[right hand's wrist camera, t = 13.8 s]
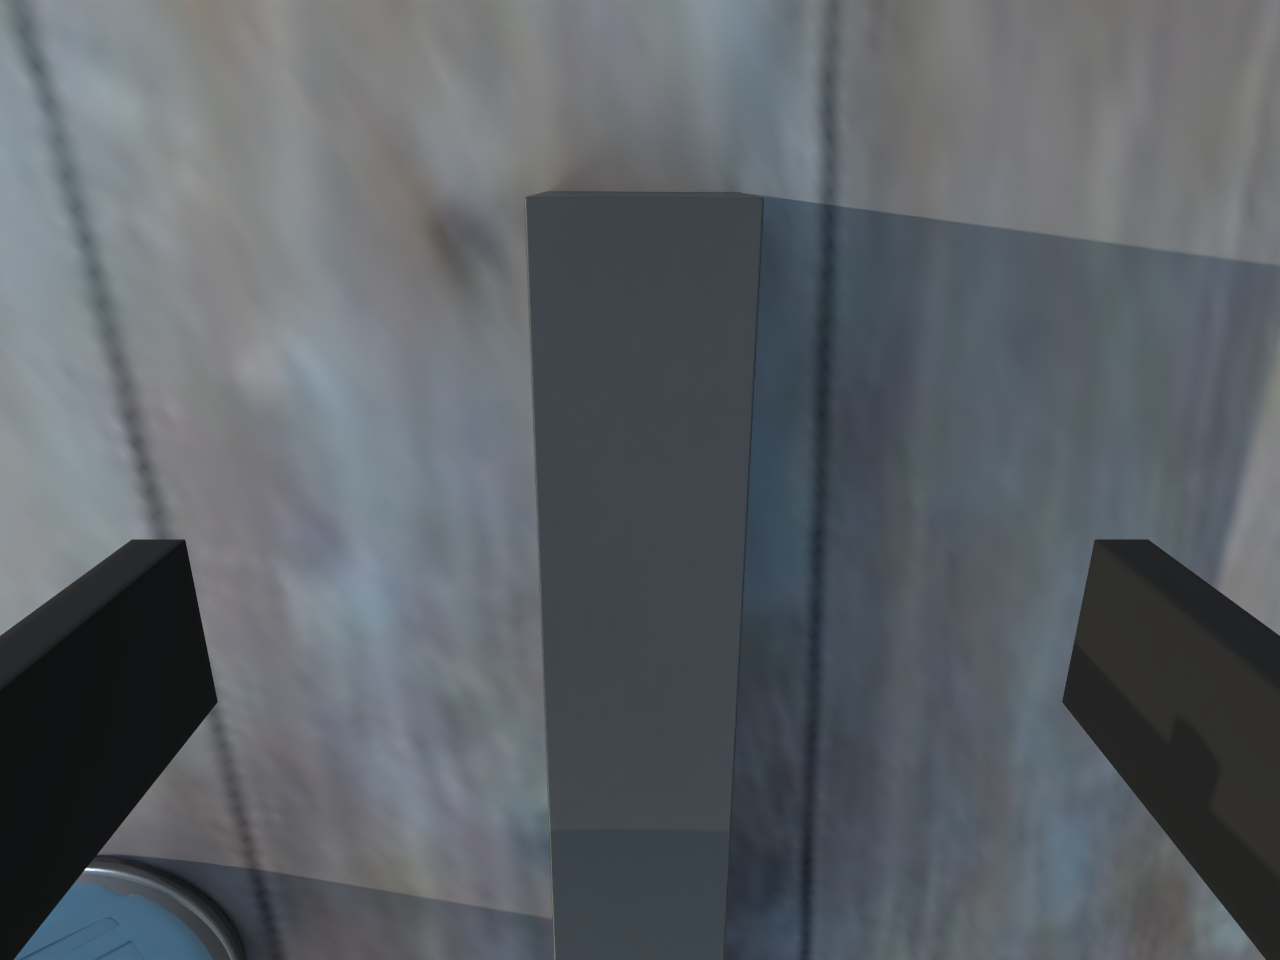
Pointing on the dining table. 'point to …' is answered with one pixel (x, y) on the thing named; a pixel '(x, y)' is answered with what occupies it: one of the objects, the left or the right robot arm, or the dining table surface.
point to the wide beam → (641, 554)
